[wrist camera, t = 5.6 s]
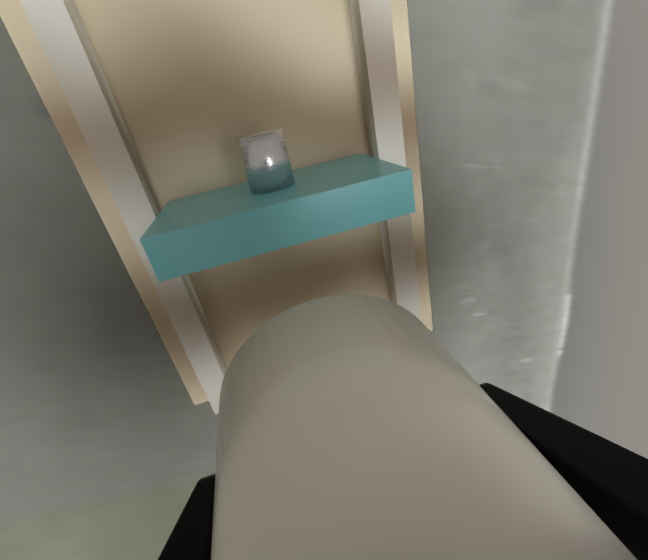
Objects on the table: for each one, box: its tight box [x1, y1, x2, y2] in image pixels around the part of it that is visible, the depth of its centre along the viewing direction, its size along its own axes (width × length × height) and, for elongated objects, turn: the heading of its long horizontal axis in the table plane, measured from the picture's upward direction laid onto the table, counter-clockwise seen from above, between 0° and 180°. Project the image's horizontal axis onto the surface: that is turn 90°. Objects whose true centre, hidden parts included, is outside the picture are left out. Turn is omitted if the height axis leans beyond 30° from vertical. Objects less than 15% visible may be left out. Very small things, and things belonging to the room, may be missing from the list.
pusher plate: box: [140, 128, 415, 282], centre depth 11 cm, size 3×7×4 cm, turn 102°
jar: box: [211, 294, 637, 560], centre depth 7 cm, size 6×6×7 cm
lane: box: [0, 0, 433, 414], centre depth 10 cm, size 22×12×6 cm, turn 12°
